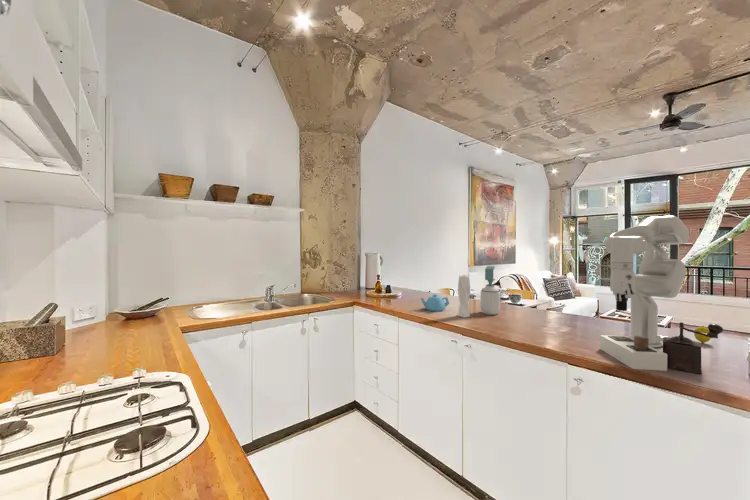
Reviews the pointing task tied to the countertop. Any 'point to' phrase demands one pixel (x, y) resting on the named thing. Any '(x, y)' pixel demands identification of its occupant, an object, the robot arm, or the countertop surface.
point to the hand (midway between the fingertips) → (621, 310)
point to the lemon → (702, 337)
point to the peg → (641, 343)
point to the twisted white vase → (464, 296)
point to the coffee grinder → (687, 349)
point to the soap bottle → (490, 294)
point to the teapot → (435, 303)
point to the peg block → (633, 353)
